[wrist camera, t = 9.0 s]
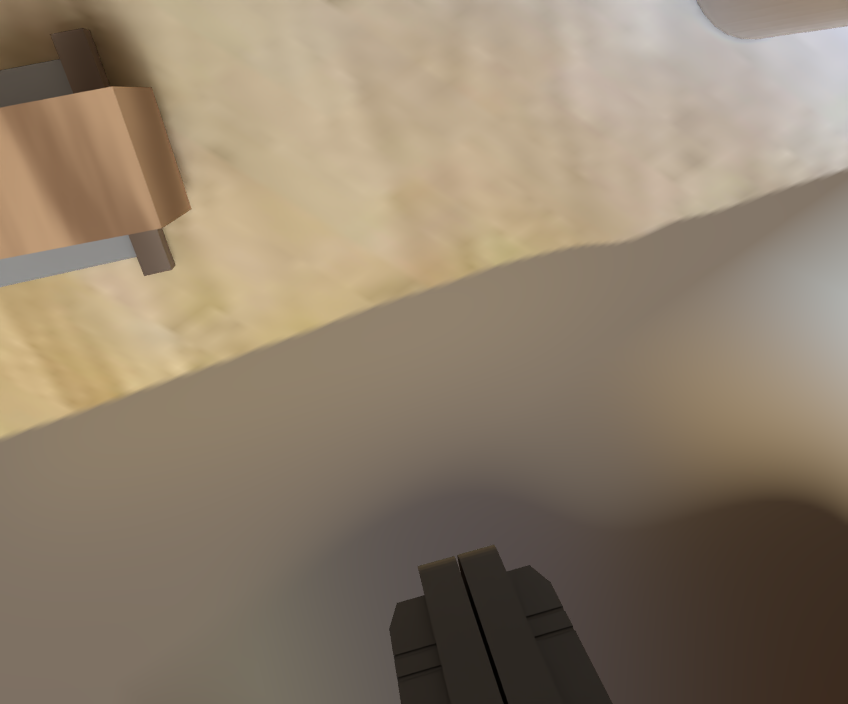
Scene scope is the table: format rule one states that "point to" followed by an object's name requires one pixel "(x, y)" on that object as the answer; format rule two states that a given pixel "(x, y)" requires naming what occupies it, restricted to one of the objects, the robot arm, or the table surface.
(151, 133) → the walnut block
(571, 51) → the table surface
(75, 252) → the slate-grey rubber mat
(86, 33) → the stop strip
